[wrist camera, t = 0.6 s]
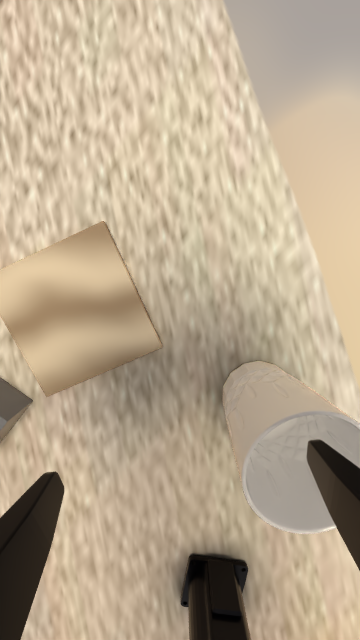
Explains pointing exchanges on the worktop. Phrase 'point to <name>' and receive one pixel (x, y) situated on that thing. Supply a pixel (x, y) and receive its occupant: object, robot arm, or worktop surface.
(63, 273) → the board
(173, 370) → the worktop surface
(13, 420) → the case
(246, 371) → the white cup
